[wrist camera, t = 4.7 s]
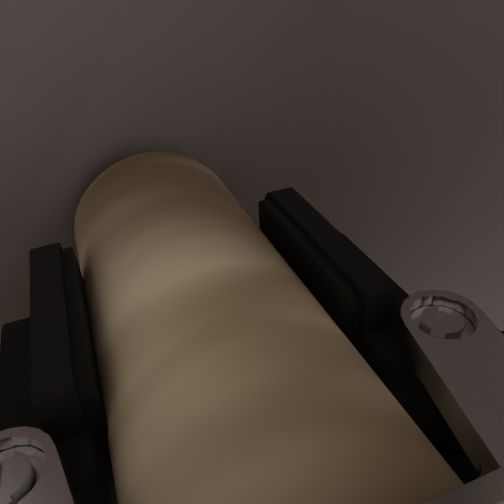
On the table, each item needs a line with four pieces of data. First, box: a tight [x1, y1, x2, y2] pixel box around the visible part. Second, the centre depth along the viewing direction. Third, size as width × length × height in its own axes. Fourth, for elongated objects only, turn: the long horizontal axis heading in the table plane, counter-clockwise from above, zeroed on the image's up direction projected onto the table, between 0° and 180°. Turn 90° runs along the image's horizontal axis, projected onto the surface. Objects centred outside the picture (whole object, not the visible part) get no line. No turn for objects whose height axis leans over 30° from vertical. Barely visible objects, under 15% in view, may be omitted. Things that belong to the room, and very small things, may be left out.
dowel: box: [74, 151, 464, 504], centre depth 8 cm, size 4×4×10 cm
